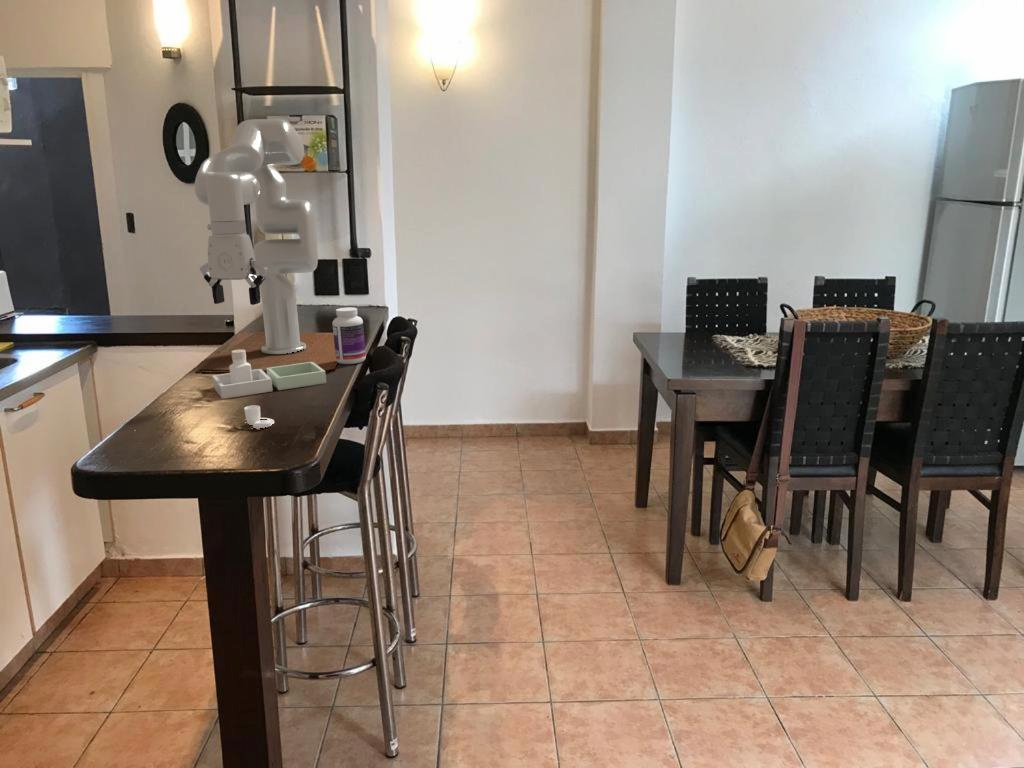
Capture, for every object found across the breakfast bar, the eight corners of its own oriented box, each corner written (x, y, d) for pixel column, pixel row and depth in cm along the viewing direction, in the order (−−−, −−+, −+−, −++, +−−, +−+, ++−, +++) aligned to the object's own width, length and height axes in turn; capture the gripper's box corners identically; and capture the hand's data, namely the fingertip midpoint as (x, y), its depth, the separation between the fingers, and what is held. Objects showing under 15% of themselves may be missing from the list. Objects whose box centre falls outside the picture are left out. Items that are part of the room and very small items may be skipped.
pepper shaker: (254, 389, 195) (250, 350, 192) (239, 392, 192) (234, 353, 189) (246, 386, 197) (242, 348, 195) (231, 389, 195) (226, 351, 192)
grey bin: (213, 387, 197) (212, 375, 196) (262, 380, 202) (260, 368, 201) (222, 398, 187) (220, 386, 186) (272, 391, 192) (271, 379, 192)
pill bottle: (372, 359, 221) (368, 307, 217) (354, 366, 214) (350, 312, 210) (347, 357, 224) (343, 305, 220) (329, 363, 217) (325, 310, 213)
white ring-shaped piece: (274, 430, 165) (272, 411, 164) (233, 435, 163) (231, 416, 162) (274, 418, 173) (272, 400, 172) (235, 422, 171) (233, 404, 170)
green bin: (267, 379, 203) (266, 367, 202) (313, 372, 208) (312, 361, 207) (278, 390, 193) (277, 378, 192) (326, 383, 198) (325, 371, 198)
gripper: (185, 230, 183) (195, 305, 188) (252, 230, 179) (260, 307, 183) (206, 227, 190) (215, 300, 195) (271, 227, 186) (278, 301, 190)
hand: (237, 303), depth 189 cm, fingers open, 9 cm apart
